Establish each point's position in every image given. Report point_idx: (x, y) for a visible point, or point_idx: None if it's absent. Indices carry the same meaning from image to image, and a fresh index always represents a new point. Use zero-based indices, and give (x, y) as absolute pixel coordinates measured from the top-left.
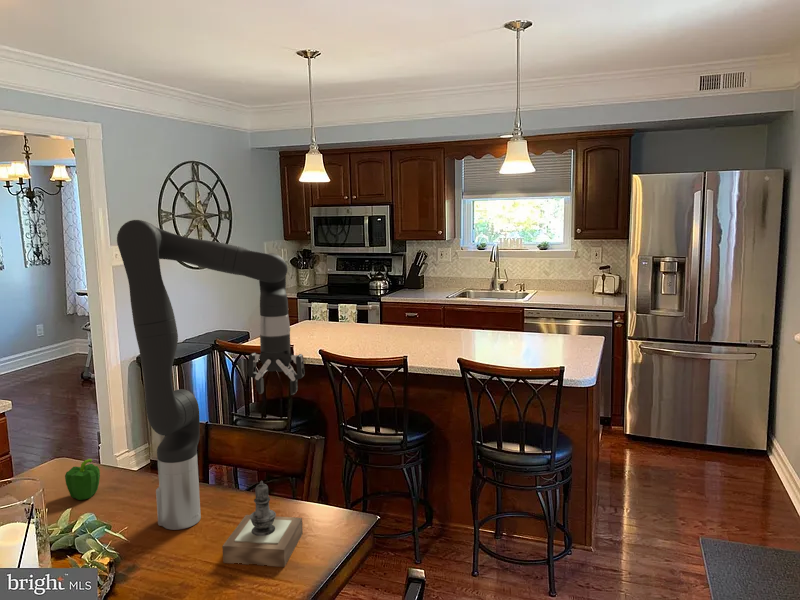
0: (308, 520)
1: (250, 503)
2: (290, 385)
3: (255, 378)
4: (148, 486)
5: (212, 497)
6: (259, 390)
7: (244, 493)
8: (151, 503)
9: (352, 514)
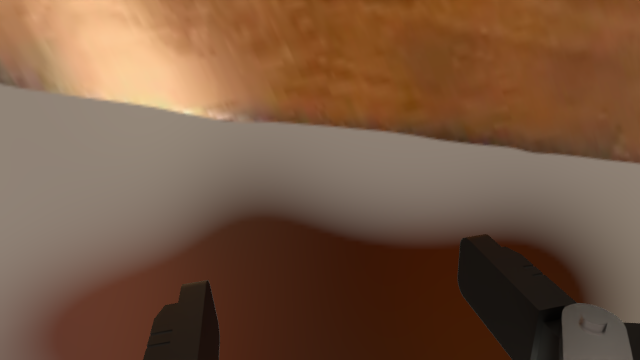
0: (147, 12)
1: (350, 75)
2: (197, 341)
3: (606, 310)
4: (623, 104)
5: (457, 85)
6: (490, 247)
7: (387, 123)
8: (591, 22)
9: (35, 74)
